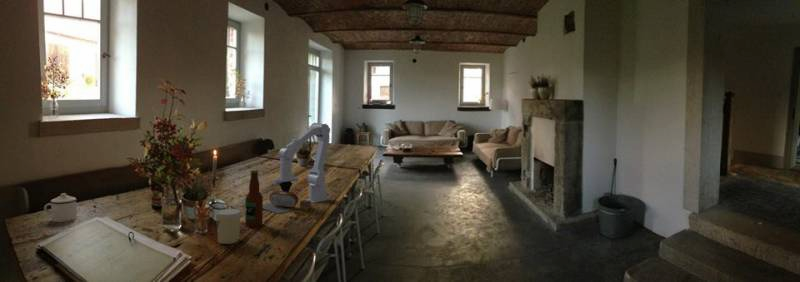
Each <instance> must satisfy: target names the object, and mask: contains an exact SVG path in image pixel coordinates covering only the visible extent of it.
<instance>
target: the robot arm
mask: <svg viewBox="0 0 800 282" xmlns="http://www.w3.org/2000/svg"><path fill="white" fill-rule="evenodd" d="M330 133H331V128H330V127H329V124H327V123H318V122H313V123H311V125H309V127H308V128H307V129H306V130H305V131H304V133H302V134H301V135H300V136H299V138H293V139H292V140H291V142H289V143H288V144H287V145H285V147H281V148H280V150H279V152H278V153H277V154H278V157H279V161H280V174H279V176H280V177H279V178H277V179H272V185H277V184H278V185H279V187H280V188H281V191H285V192H290V189H291V188H292V186H293V182H298V181H299V177H298V176H292V173H293V172H292V169H293V167H292V163H293V160H292V159H293V158H295V154H296V153H297V152H298V151H299V150H301V149H302V148H303V145H304V143H306V142H307V141H308V140H309V139H311V138H312V137H313V136H315V137H316V138H317V139H318V143H317V144H318V145H317V150H316V154H315V158H314V164H313V167H312V168H311V169H310V170H309V172H308V174H307V176H306V181H307V183H308V188H309V189H308V192H309V194H308V198H306V199H305V200H309V201H311V203H313V204H316V203H320V202H325V201H328V199H327V186H326V185H325V183H326V172H325V170H324V167H325V166H324V165H325V162H326V157H327V153H328V150H329V149H328V148H329V145H330Z"/></svg>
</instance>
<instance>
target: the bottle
mask: <svg viewBox="0 0 800 282" xmlns="http://www.w3.org/2000/svg"><path fill="white" fill-rule="evenodd" d="M258 176H259V170H256V169H255V170H250V180H249V185H248V186H249V187H248V193H247V195H246V196H245V204H244V205H245V209H244V210H245V211H244V212H245V215H244V217H245V224H244V225H245V226H246V227H249V228H258V227H261V225H262V224H263V210H264V209H263V205H264V204H263V202H264V201H263V199H264V197H263V195H262V193H261V192H260V182H259V181H260V180H259V177H258Z"/></svg>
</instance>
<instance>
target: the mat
mask: <svg viewBox="0 0 800 282" xmlns="http://www.w3.org/2000/svg"><path fill="white" fill-rule="evenodd" d="M263 210H265V211H269V212H270V213H274V214H276V215H280V214H284V213H285V214H286V213H290V212H292V210H291V209H289V208H286V207H282V206H276V205H274V204H272V203H267V204H263Z"/></svg>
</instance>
